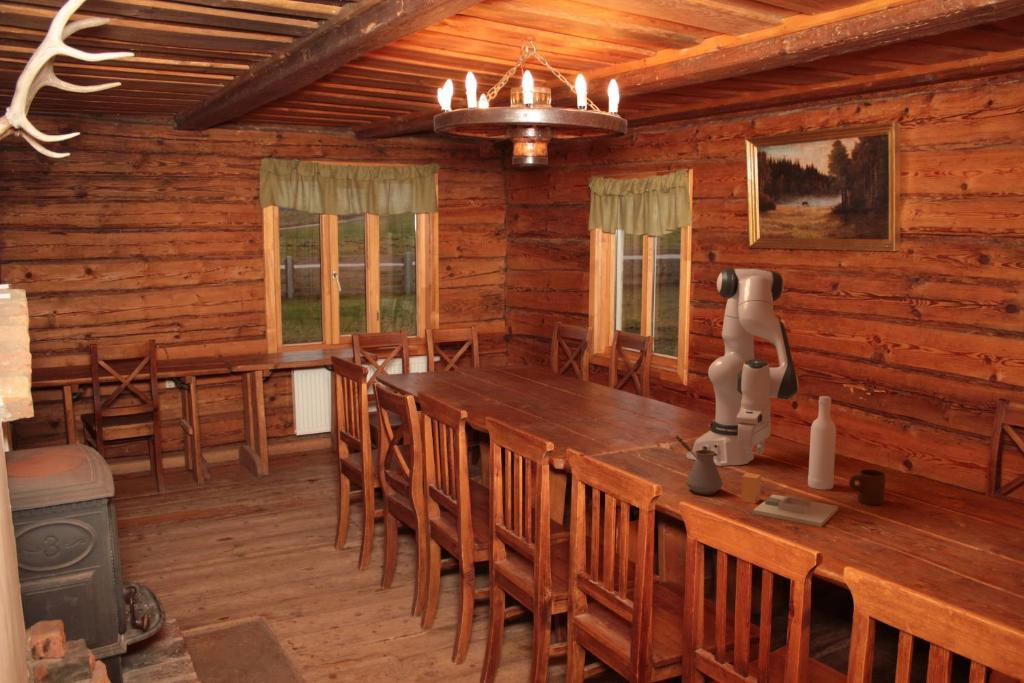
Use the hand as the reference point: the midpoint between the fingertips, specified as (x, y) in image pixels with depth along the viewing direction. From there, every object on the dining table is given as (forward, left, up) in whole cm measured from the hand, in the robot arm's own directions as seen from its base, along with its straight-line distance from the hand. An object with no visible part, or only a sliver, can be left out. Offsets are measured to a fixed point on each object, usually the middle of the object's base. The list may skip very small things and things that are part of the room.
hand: (754, 456), depth 278 cm
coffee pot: (-21, +3, -14) cm, 25 cm away
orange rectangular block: (-1, 0, -14) cm, 14 cm away
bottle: (+13, +27, -14) cm, 33 cm away
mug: (+29, +18, -14) cm, 37 cm away
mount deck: (+14, -3, -14) cm, 20 cm away
